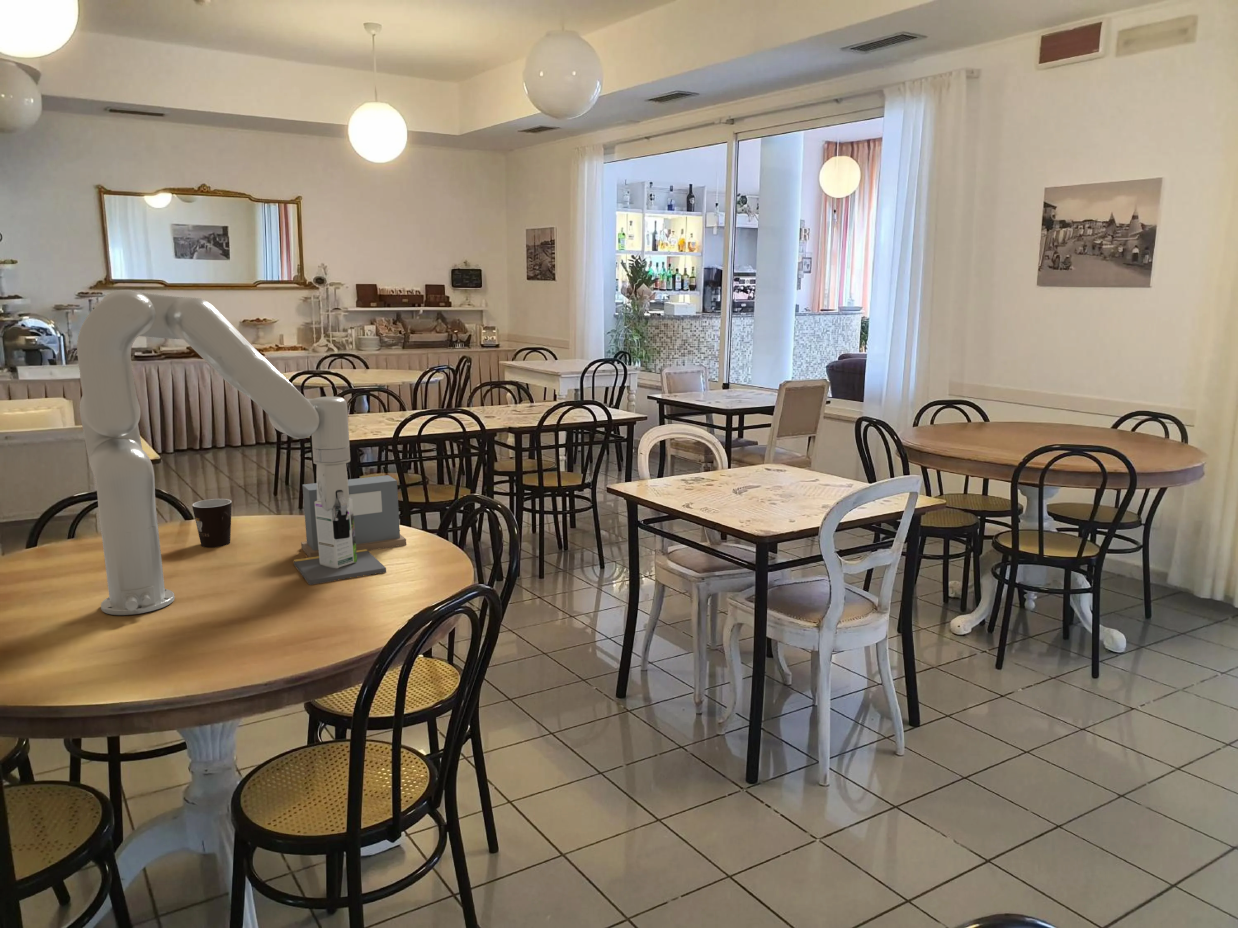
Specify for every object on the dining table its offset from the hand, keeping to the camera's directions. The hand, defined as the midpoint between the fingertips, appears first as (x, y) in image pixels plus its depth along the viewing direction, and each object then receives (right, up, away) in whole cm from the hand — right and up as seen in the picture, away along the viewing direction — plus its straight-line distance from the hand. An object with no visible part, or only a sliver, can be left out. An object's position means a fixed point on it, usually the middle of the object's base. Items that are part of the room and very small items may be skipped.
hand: (336, 532), depth 195 cm
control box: (-1, -5, +18) cm, 18 cm away
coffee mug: (-35, -5, +19) cm, 40 cm away
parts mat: (0, -8, +2) cm, 8 cm away
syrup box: (0, -7, +2) cm, 7 cm away
